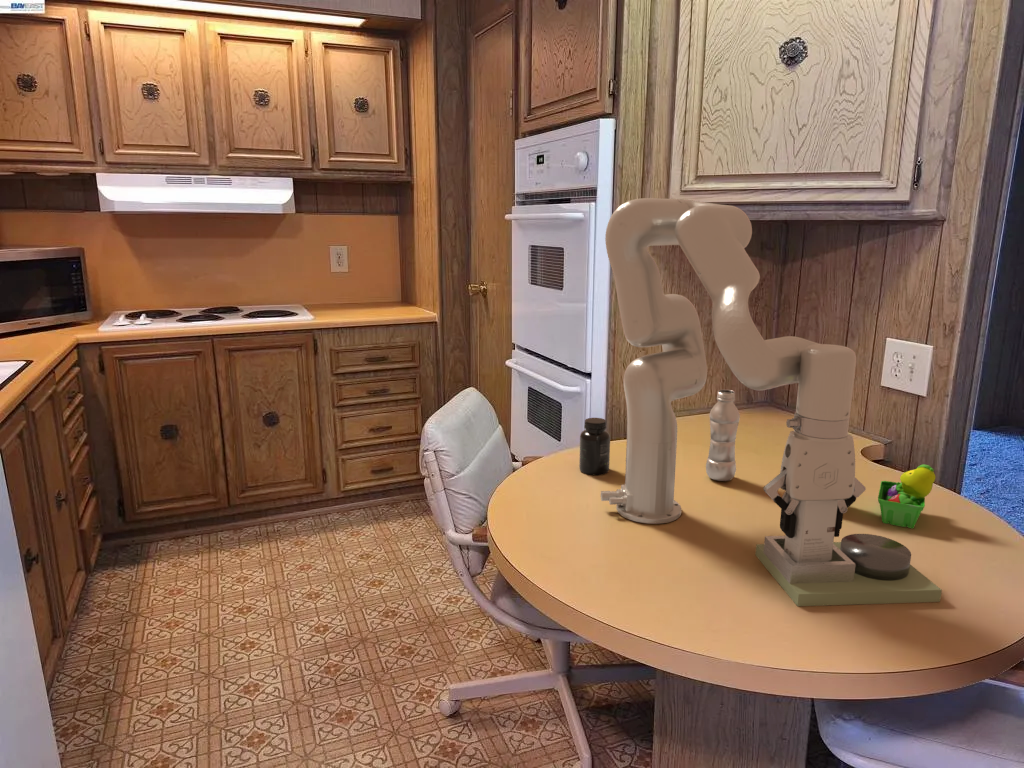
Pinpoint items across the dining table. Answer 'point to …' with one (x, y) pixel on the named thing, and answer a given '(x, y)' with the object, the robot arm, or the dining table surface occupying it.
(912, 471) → the fruit basket
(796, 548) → the skincare box
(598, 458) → the supplement bottle
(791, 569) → the green plate
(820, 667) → the dining table surface
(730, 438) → the plastic bottle
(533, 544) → the dining table surface
